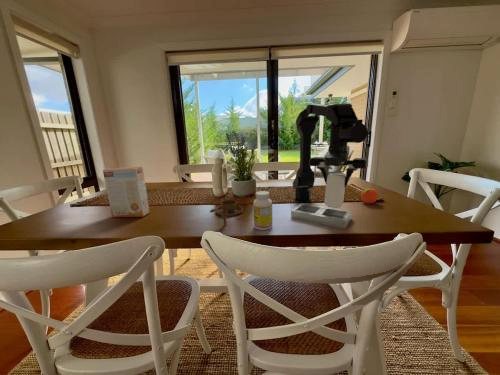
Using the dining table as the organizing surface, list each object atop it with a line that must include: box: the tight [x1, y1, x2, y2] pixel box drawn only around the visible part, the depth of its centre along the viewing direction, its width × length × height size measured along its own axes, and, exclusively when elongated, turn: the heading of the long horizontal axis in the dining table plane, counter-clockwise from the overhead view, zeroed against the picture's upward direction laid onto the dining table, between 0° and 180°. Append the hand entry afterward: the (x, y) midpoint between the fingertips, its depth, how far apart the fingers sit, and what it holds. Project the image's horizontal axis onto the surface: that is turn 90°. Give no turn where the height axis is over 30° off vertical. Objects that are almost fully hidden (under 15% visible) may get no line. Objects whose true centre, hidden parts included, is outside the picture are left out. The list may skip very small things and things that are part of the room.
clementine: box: [360, 187, 379, 205], centre depth 98 cm, size 8×7×7 cm
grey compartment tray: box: [290, 202, 353, 230], centre depth 84 cm, size 20×10×3 cm, turn 55°
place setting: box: [209, 199, 244, 227], centre depth 91 cm, size 18×20×6 cm
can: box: [324, 171, 346, 209], centre depth 79 cm, size 6×6×12 cm
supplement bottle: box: [252, 190, 273, 231], centre depth 77 cm, size 7×7×13 cm
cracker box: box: [102, 166, 150, 218], centre depth 93 cm, size 14×6×21 cm, turn 86°
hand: (335, 186), depth 79 cm, fingers closed on can, 6 cm apart
